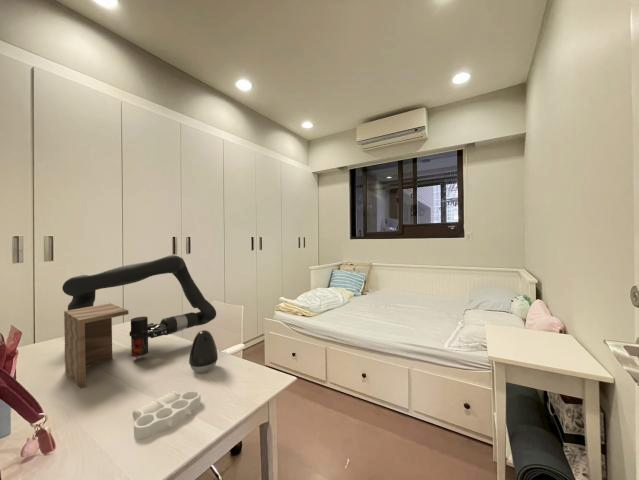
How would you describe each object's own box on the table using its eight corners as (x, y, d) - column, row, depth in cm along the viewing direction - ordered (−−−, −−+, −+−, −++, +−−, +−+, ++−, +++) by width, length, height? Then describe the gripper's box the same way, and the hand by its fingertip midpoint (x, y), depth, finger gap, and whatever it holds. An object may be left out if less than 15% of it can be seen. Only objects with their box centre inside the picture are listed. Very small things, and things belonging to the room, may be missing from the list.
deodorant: (151, 350, 116) (150, 316, 115) (141, 357, 110) (140, 321, 109) (139, 350, 116) (138, 316, 116) (128, 356, 110) (127, 320, 110)
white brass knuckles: (182, 393, 89) (210, 407, 81) (119, 426, 73) (146, 448, 66) (182, 383, 89) (210, 396, 81) (119, 414, 73) (146, 434, 66)
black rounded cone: (194, 379, 96) (193, 337, 96) (186, 369, 104) (185, 330, 104) (222, 370, 103) (221, 331, 103) (212, 360, 111) (212, 324, 111)
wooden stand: (65, 372, 102) (64, 311, 102) (111, 357, 114) (110, 303, 114) (80, 388, 91) (78, 320, 91) (129, 370, 103) (128, 310, 103)
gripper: (166, 313, 129) (125, 323, 115) (182, 319, 120) (140, 330, 107) (167, 329, 129) (126, 340, 115) (182, 335, 120) (140, 348, 107)
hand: (133, 335), depth 111 cm, fingers closed on deodorant, 6 cm apart
